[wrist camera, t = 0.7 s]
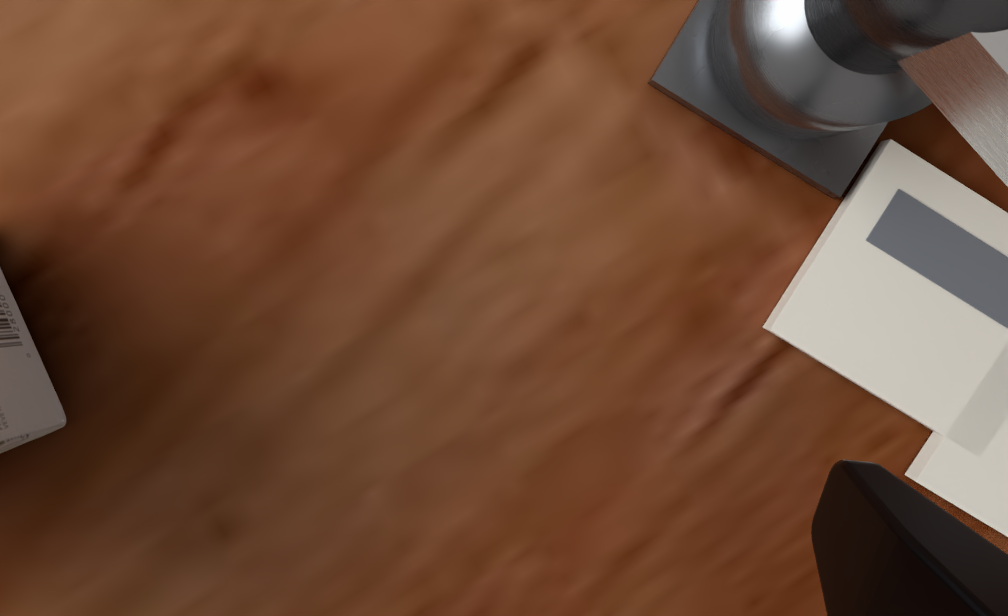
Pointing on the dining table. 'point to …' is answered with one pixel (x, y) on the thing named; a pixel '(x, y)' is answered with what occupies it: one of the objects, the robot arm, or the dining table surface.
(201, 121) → the dining table surface
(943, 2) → the bar
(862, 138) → the arm mount
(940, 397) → the label plate
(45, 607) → the dining table surface
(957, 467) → the label plate
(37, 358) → the coffee box
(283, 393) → the dining table surface
